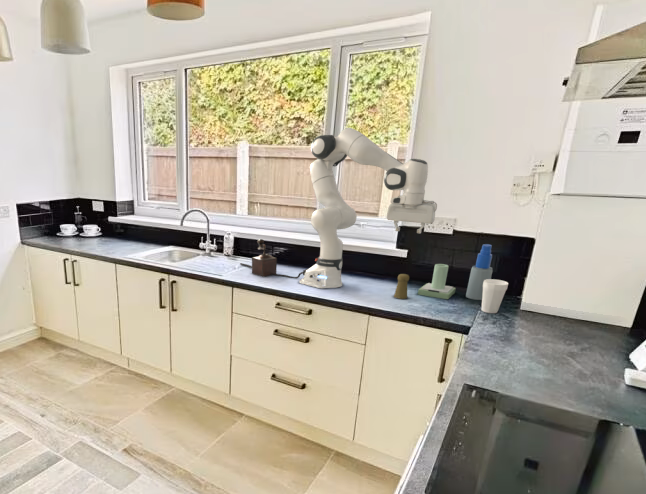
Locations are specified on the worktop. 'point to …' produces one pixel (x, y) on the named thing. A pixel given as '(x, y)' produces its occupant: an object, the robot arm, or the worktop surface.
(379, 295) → the worktop surface
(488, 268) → the spray bottle
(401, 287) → the pepper shaker
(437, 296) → the scale
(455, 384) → the worktop surface
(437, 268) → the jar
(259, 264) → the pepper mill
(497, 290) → the foam cup
